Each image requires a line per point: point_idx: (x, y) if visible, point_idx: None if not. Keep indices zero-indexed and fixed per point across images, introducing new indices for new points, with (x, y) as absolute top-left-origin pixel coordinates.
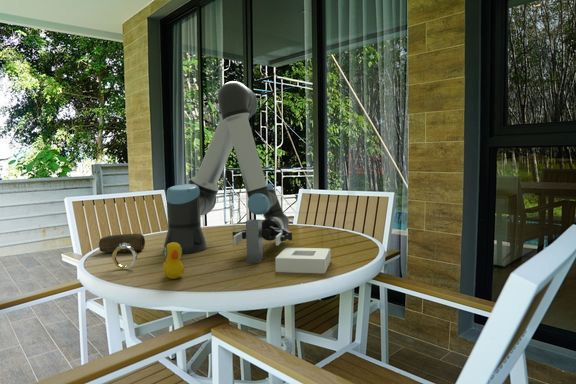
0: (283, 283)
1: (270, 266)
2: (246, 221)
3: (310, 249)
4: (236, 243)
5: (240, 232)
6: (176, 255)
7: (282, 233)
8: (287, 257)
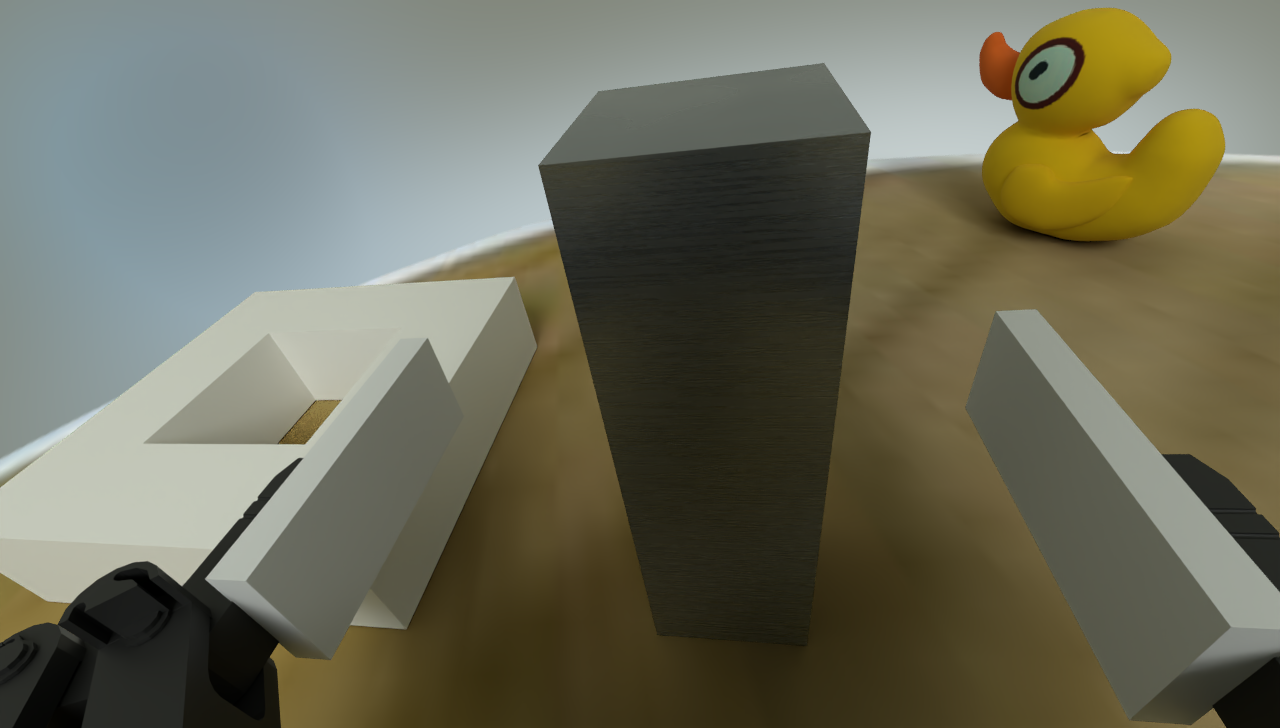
0: (516, 255)
1: (568, 433)
2: (809, 69)
3: (145, 489)
4: (975, 412)
5: (1269, 616)
6: (980, 66)
7: (196, 619)
8: (440, 291)
